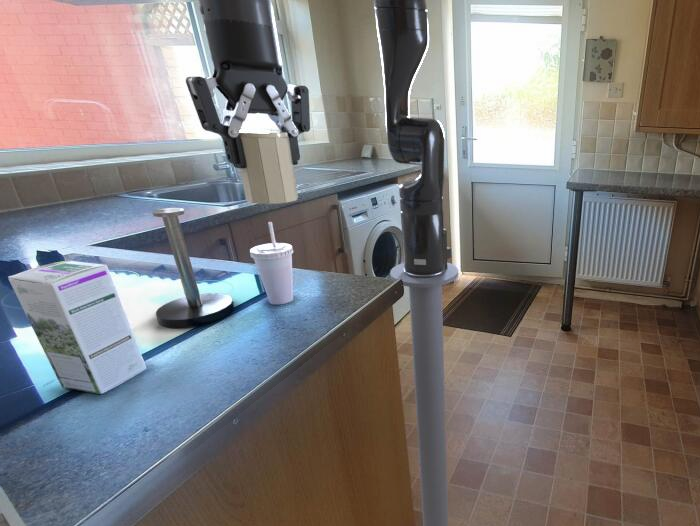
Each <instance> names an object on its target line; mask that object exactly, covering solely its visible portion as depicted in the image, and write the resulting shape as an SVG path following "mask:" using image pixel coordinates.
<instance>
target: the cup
mask: <svg viewBox="0 0 700 526" xmlns="http://www.w3.org/2000/svg"><path fill="white" fill-rule="evenodd" d="M238 138H241V140H242V145H243V149H244V154H245V159H246V164H247V167H246V168H241V169H240V168H239V172H240V177H241V181H242V182H241V183H242V187H243V193H244V197H245V201H246V202H247V203H251V204H257V205H276V204H277V205H279V204H286V203H291V202H292V203H293V202H296V201H298V199H299V193H298V188H297V187H298V186H297V181H296V174H295V168H294V165H293V161H292V154H291V148H290V141H289V137H288V133H287V132H283V131H280V130H262V129H260V130H259V129H257V130H256V129H240V132H239V135H238Z"/></svg>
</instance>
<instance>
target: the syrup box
mask: <svg viewBox="0 0 700 526" xmlns="http://www.w3.org/2000/svg"><path fill="white" fill-rule="evenodd" d="M7 278H8V281H9V284H10V285H11V287H12V289H13V292H14V293H15V295H16V297H17V299H18V302H19V303H20V306H21V307H22V310H23V312H24V314H25V316H26V318H27V320H28V322H29V324H30V326H31V327H32V330H33V332H34V333H35V336H36V338H37V340H38V343H39V344H40V346H41V348H42V350H43V352H44V355H45V356H46V358H47V360H48V363H49V365H50V366H51V368H52V370H53V372H54V374H55V376H56V378H57V381H58V382H59V384H60V386H61V388H62V389H67V390H73V391H80V392H85V393H92V394H97V395H102V394H106V393H107V392H108V391H110V390H112V389H114V388H116V387H118V386H120V385H122V384H124V383H125V382H127V381H128V380H131V379H132V378H134V377H136V376H137V375H139V374H140V373H142V372H144V371H146V370H147V366H146V363H145V360H144V358H143V355H142V352H141V349H140V347H139V344H138V342H137V339H136V337H135V335H134V331H133V329H132V327H131V324H130V322H129V319H128V317H127V314H126V311H125V309H124V305H123V303H122V301H121V297H120V295H119V293H118V290H117V287H116V284H115V282H114V279H113V276H112V275H111V272H110V270H109V267H108V265H107V264H103V263H102V264H101V263H92V262H84V261H74V260H61V261H57V262H56V261H55V262H51V263H48V264H47V263H46V264H42V265H39V266H37V267H33V268H30V269H27V270H24V271H21V272H19V273H16V274H13V275H9V276H7Z"/></svg>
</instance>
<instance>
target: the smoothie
mask: <svg viewBox="0 0 700 526" xmlns="http://www.w3.org/2000/svg"><path fill="white" fill-rule="evenodd" d="M267 224H268V229H269V235H270V239H271V242H270V243H263V244H259V245H255V246H253V247H252V248H250V249H249V253H250V254H249V257H250V258H251V259H253V260H254V264H255V267H256V269H257V272H258V275H259V278H260V280H261V283H262V286H263V288H264V290H265V294H266V296H267V299H268V302H269V304H270V305H276V306H277V305H278V306H279V305H285V304H288V303H291V302H293V300H294V283H293V282H294V281H293V255H292V254H294V249H293V245H291V244H289V243H285V242H277V240H276V236H275V231H274V225H273V222H272V221H268V222H267Z"/></svg>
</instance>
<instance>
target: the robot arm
mask: <svg viewBox="0 0 700 526" xmlns="http://www.w3.org/2000/svg"><path fill="white" fill-rule="evenodd" d="M272 1H273V0H198V2H199V13H200V15H201V17H202V22H203V26H204V31H205V35H206V40H207V44H208V49H209V53H210V58H211V61H212V64H213V74H212V76H211V77H202V76H187V77H185V84H186V87H187V90H188V92H189V96H190V97H191V101H192V103H193V107H194V109H195V111H196V115H197V117H198V120H199V123H200V125H201V127H202V129H203V130H204V131H206V132H211V133H213V134H218V136H220V137H221V138H222V141H223V142H222V143H223V147H224V151H225V156H226V160H227V161H228V163H229V164H232V165H233V167H234V168H235V169H239V170H240V169H241V168H246V167H247V164H246V159H245V154H244V149H243V145H242V140H241V138H238V135H239V132H240V130H242V126H243V123H244V122H245V121H246V120H247V117H248V114H254V115H255V114H264V115H267V116H268V117H269V119H270V120H271V121H272V122H273V123H274V124H275V125H276V127H277V128H278V131H283V132H287V133H288V137H289V141H290V148H291V154H292V161H293V166H297V165H298V164H299V161H300V159H301V153H300V146H299V141H298V137H299V136H300V134H303V133H307V132H309V131H310V130H311V118H310V117H311V115H310V91H309V88H308V87H307V86H306V85H302V84H301V85H299V84H296V85H295V84H291V83H288V82H287V81H286V80H285V78H284V75H283V61H282V55H281V49H280V42H279V36H278V30H277V24H276V23H277V22H276V18H275V12H274V5H273V2H272ZM373 8H374V15H375V23H376V24H375V26H376V34H377V38H378V44H379V52H380V59H381V60H380V61H381V66H382V67H381V68H382V78H383V88H384V89H383V90H384V108H385V110H384V111H385V112H384V113H385V130H386V142H387V147H388V151H389V154H390V156H391V158H392V159H393V161H394V162H396V163H398V164H403V165H412V166H413V165H415V166H421V168H420V169H421V170H420V173H419V175H418V176H417V177H415V178H414V179H410V180H406V181H403V182H402V183H400V185H399V187H398V194H399V208H400V209H399V210H400V222H401V240H402V241H401V242H402V254H403V263H404V273H405V274H406V275H408V276H411V277H416V278H430V277H436V276H439V275H441V274H443V273H444V272H445V270H446V269H447V262H448V260H449V259H451V258H452V248H451V247H449V246H448V232H447V229H445V228H444V227H445V225H444V186H445V184H444V183H445V155H446V154H445V151H446V140H445V131H444V128H443V125H442V123H441V122H440V121H439V120H437V119H435V118H430V117H429V118H428V117H411V116H410V95H411V89H412V85H413V83H414V81H415V78H416V75H417V73H418V71H419V69H420V67H421V65H422V63H423V60H424V58H425V56H426V53H427V51H428V48H429V43H430V33H429V18H428V17H429V16H428V6H427V0H373ZM215 89H217V90H218V91H219V92H220V94H221V95H222V96H223V97H224V98H225V99H226V100H225V103H224V106H223V109H222V112H221V113H222V114H221V115H222V118H221V119H222V120H220V117H219V115H218V112H217V111H218V110H217V109H216V105H215V103H214V100H213V97H214V96H215V94H216V92H215ZM286 95H287V98H288V100H289V101H290V105H291V113H290V112H289V110H288V108H287V106H286V104H285V103H284V102H283V101H284V98H285V97H286Z"/></svg>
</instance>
